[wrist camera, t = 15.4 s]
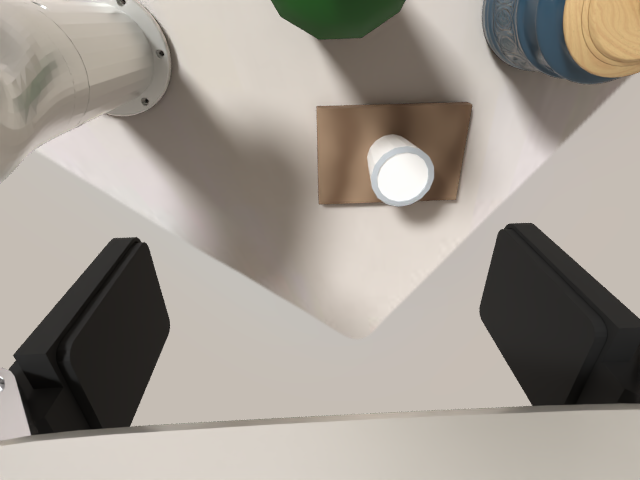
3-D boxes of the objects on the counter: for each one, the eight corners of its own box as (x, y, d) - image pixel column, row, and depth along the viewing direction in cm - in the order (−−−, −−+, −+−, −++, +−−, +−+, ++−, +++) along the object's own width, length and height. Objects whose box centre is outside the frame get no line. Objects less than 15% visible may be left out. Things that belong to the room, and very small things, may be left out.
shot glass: (422, 130, 45) (440, 147, 39) (412, 184, 49) (428, 207, 43) (365, 128, 45) (374, 145, 39) (359, 182, 48) (367, 206, 42)
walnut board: (318, 199, 51) (319, 204, 50) (316, 106, 45) (316, 108, 44) (451, 195, 52) (455, 199, 50) (467, 102, 45) (472, 104, 44)
